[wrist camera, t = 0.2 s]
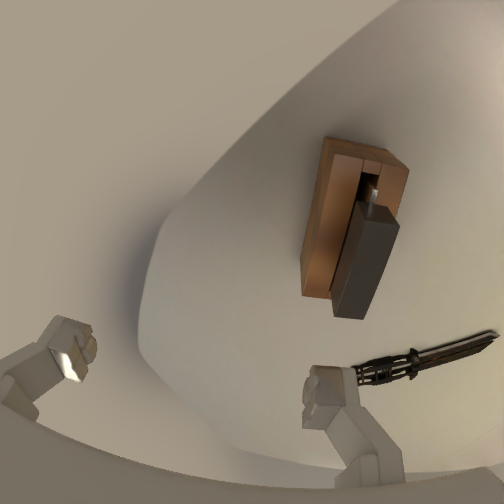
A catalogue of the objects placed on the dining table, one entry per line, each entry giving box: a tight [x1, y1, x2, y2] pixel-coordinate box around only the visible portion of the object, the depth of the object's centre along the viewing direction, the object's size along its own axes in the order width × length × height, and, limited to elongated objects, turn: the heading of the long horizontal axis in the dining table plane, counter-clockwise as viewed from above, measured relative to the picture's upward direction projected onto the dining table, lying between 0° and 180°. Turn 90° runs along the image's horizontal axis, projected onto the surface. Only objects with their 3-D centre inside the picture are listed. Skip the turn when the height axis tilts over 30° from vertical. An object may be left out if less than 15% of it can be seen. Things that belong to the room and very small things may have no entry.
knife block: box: [300, 137, 409, 300], centre depth 27 cm, size 13×6×6 cm, turn 174°
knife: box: [352, 332, 500, 386], centre depth 39 cm, size 25×6×1 cm, turn 103°
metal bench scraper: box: [330, 172, 400, 320], centre depth 24 cm, size 10×2×10 cm, turn 174°
